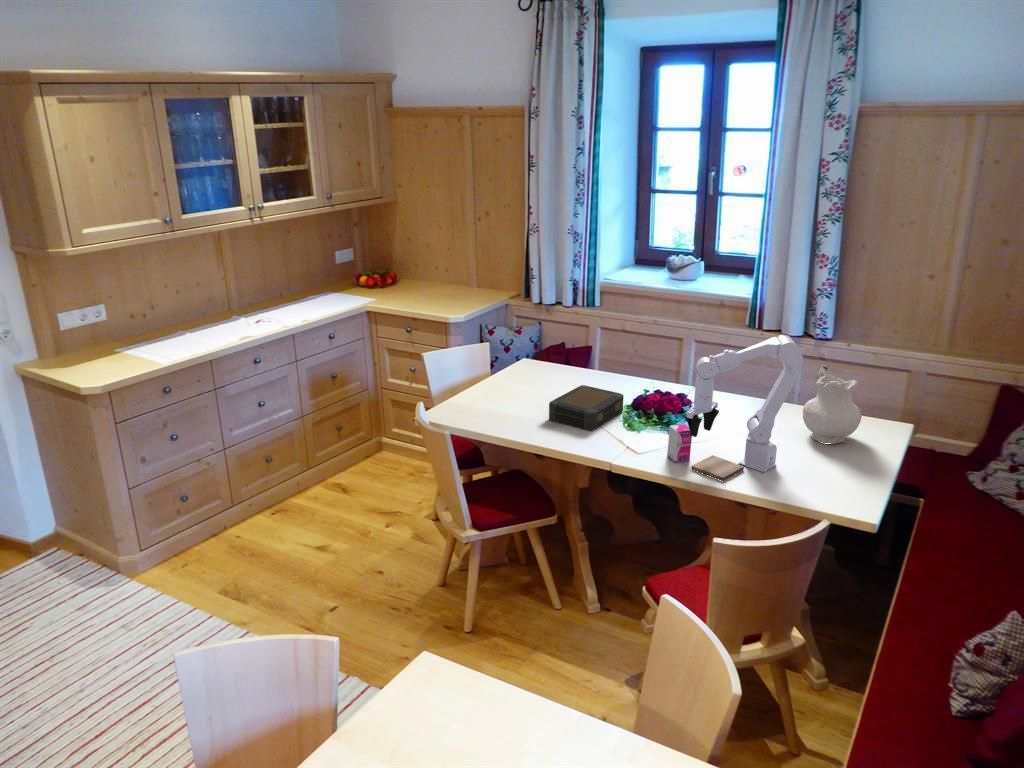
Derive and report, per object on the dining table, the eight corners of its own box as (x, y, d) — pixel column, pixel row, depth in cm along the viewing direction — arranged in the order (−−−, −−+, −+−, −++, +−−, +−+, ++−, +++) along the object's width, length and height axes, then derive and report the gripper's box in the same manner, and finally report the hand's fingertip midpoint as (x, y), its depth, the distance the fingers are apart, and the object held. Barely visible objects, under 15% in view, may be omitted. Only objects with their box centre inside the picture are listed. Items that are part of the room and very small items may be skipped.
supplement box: (674, 463, 263) (676, 431, 259) (666, 456, 268) (668, 425, 264) (690, 461, 264) (692, 429, 261) (682, 454, 270) (684, 423, 266)
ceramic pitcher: (785, 431, 291) (789, 368, 282) (830, 421, 296) (835, 358, 287) (824, 454, 272) (829, 387, 263) (871, 443, 277) (877, 377, 268)
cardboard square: (743, 472, 258) (744, 466, 257) (722, 483, 250) (723, 477, 249) (712, 460, 266) (712, 455, 265) (691, 471, 258) (691, 465, 258)
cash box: (579, 401, 319) (580, 383, 316) (624, 412, 307) (625, 393, 305) (545, 420, 300) (545, 401, 297) (592, 432, 288) (592, 413, 286)
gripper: (706, 386, 263) (703, 423, 268) (680, 396, 254) (677, 435, 259) (724, 391, 258) (720, 429, 263) (698, 402, 249) (695, 441, 254)
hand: (700, 432), depth 261 cm, fingers open, 7 cm apart
